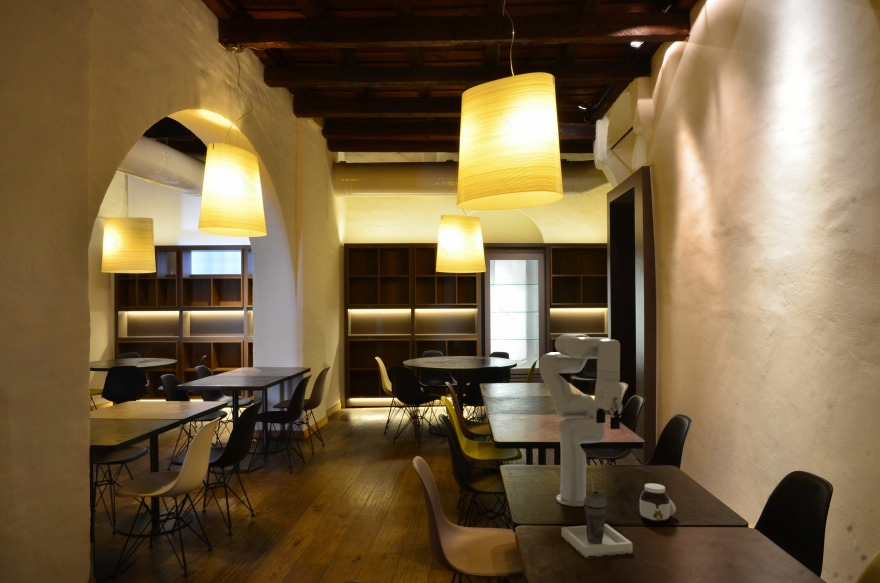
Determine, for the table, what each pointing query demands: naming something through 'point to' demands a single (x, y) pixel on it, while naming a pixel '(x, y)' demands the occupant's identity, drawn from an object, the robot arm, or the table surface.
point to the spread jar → (656, 504)
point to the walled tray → (609, 546)
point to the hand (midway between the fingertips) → (607, 425)
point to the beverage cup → (595, 515)
